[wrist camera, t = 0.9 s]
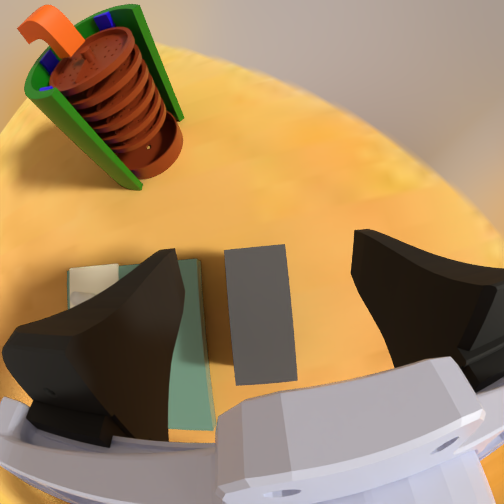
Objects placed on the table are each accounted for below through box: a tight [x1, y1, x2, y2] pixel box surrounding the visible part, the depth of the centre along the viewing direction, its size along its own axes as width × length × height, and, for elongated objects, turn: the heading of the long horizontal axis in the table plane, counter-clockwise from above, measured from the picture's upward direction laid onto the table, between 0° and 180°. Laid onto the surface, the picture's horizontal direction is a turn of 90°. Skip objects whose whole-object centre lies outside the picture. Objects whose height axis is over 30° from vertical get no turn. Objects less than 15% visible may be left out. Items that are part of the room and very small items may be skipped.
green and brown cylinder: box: [17, 4, 184, 190], centre depth 18 cm, size 10×9×20 cm
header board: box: [67, 259, 216, 431], centre depth 21 cm, size 15×14×4 cm
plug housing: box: [224, 244, 298, 386], centre depth 21 cm, size 9×4×6 cm, turn 5°
